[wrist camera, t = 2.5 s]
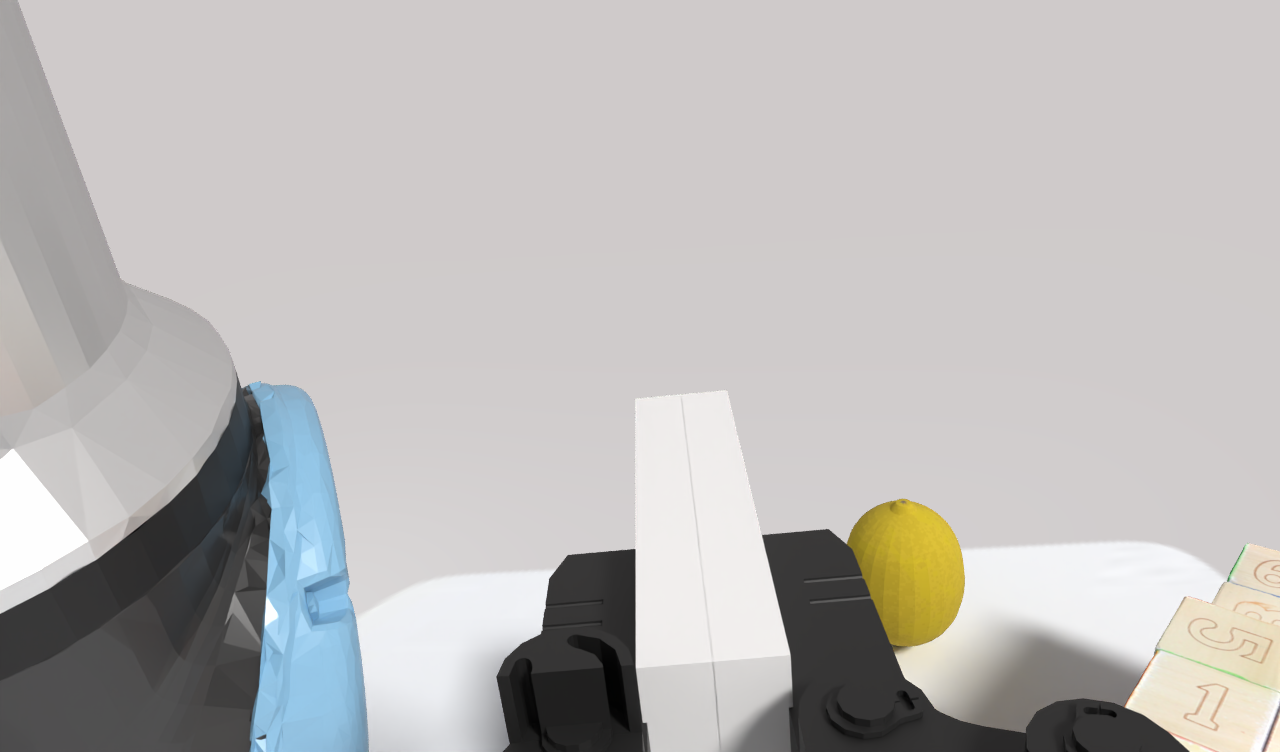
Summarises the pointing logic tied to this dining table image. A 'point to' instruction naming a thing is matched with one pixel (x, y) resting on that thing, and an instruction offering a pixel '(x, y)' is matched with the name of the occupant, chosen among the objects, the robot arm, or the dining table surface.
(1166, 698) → the stack of blocks
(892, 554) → the lemon
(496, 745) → the dining table surface
